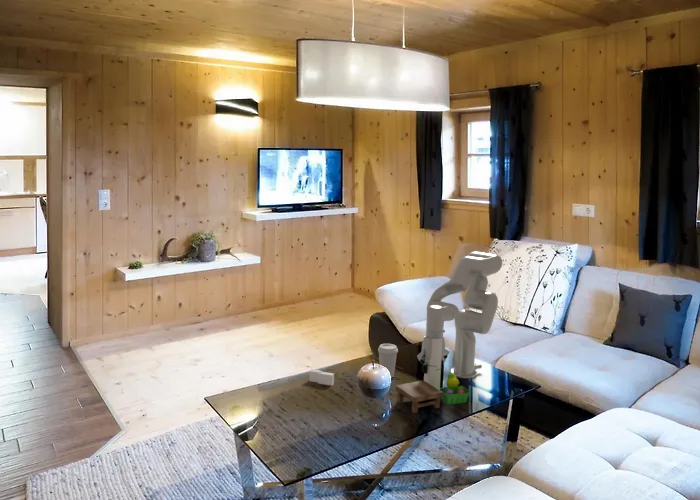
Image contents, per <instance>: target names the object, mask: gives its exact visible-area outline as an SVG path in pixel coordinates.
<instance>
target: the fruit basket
mask: <svg viewBox="0 0 700 500" xmlns="http://www.w3.org/2000/svg"><path fill="white" fill-rule="evenodd" d="M445 384H446V386H444V387H440V391H442V392H443V395H442V397H441V400H442V401H443V402H444V403H445V404H446V405H456V404H464V403H465V404H466V403H467V401H468V398H469V396H470V394H471V391H470V390H469V389H467V387H465V386H464V385H460V381H459V379H458V377H456V376H455V375H454V374H452V373H448V375H447V379H446V382H445Z"/></svg>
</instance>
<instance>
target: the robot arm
mask: <svg viewBox="0 0 700 500" xmlns="http://www.w3.org/2000/svg"><path fill="white" fill-rule="evenodd" d="M502 266H503V259H502V257H501V256H500V255H498V254H493V253H486V252H481V251H472V252H469V253H468V254H467V256H463V257H461V258H460V260H459V262H458V264H457V265H456V268H455V269H454V271H453V274H452V276H451V277H450V279H449V281H446V282H445V283H443V284H442V285H441V286H439V287H438V288H436V289H435V290H434V292H433V293H432V295H431V296H430V298H429V300H428V302H427V305H426V323H425V324H426V325H425V327H426V329H425V335H424V336H423V339H422V343H421V351H420V352H419V353H418V354H417V356H416V357H417V359H418V362H420V364H421V372H422V373H425V374H427V365H426V364H427V362H428V361H429V360H430V359H431V354H432V339H441V338H442V357H441V371H444V367H445V362H446V360H447V358H448V356H449V354H450V350H448V349H446V341H445V340H446V339H445V336H444V333H446V330H445V329H444V326H445V324H444V323H445V322H451V321H454V327H455V341H454V342H455V345H454V357H453V358H454V360H453V361H454V362H453V367H452V368H451V369H450V373H449V374H451V373H452V374H454V375H455V376H456V378H459V379H473V378H476V377H477V376H478V372H477V370H480V369H482V367H483V366H482V364H481V363H479V364H476V363H475V359H476V358H475V356H476V344H477V341H476V339H477V338H476V335H475V334H479V335H480V334H481V335H486V334H488V333H489V332H490V330H491V328H492V326H493V322H494V318H495V316H496V313H497V309H498V304H499V299H498V295H497V294H496V293H494V292H492V291H488V290H487V288H488V285H489V281H488V280H489V279H488V277H489V276H492V275H494V274H497V273H498V272H499V271H500V270H501V269H502V268H503V267H502ZM465 291H466V293H465V295H464V299H463V304H464V305H465V306H466V307H467V308H469V309H472V310H469V309H459V308H458V306H457V305H455V304H453V303H449V302H445V301H442V300H443V299H445V298H446V297H448V296H451V295H454V294H458V293H463V292H465ZM475 310H476V311H475ZM477 310H478V311H480V312H477ZM425 359H426V360H425Z"/></svg>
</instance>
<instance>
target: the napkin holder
mask: <svg viewBox="0 0 700 500" xmlns="http://www.w3.org/2000/svg"><path fill="white" fill-rule="evenodd" d="M309 382H314V383H317V384H319V385H326V386H334V384H335V373H332V372H327V371H326V372H325V371H322V370H320V369H310V371H309Z"/></svg>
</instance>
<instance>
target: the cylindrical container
mask: <svg viewBox="0 0 700 500" xmlns="http://www.w3.org/2000/svg"><path fill="white" fill-rule="evenodd" d="M441 357H442V338H441V339H432V354H431V359H430V360H429V361H428V362H427V364H426V365H427V374H425V373H424V374H423V375H424V376H423V380H424V381H425V382H427V383H429V384H430V385H432V386H433V387H435V388H437V389H438V390H440V388H441V373H442V372H441V371H442V370H441ZM425 360H426V359H425Z"/></svg>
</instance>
